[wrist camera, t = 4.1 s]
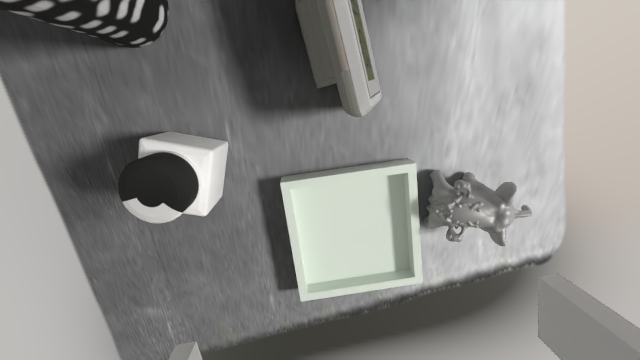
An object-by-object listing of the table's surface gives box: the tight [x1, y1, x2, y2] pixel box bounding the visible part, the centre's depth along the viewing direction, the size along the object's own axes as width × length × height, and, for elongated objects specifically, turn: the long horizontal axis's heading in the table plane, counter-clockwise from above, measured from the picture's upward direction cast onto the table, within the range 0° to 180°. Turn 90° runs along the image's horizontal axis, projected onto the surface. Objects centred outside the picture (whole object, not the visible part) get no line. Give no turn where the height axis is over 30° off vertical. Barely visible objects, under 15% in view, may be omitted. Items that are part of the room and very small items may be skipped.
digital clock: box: [295, 0, 381, 117], centre depth 30 cm, size 16×9×11 cm, turn 4°
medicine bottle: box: [118, 131, 228, 223], centre depth 32 cm, size 7×7×12 cm
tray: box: [280, 158, 423, 301], centre depth 40 cm, size 16×16×3 cm
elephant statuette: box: [424, 170, 532, 246], centre depth 38 cm, size 9×12×8 cm
